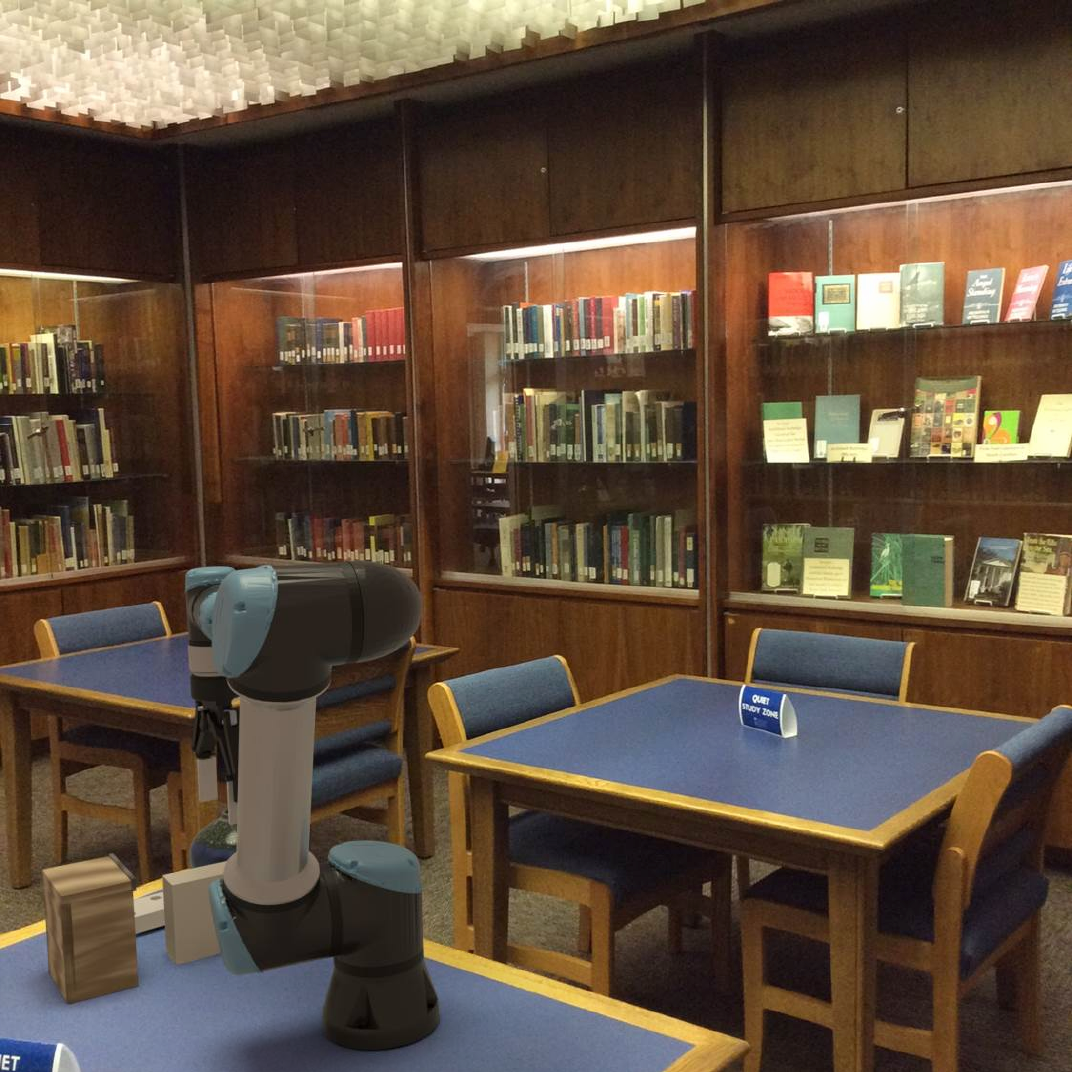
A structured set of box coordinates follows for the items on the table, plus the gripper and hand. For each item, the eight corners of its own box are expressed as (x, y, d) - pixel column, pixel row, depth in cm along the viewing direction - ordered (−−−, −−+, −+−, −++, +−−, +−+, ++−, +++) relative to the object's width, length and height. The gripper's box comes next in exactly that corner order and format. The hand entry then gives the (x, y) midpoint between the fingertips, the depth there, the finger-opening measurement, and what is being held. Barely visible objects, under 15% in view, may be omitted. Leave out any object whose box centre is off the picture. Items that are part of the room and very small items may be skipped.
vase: (257, 864, 221) (253, 791, 220) (300, 887, 209) (296, 810, 208) (175, 886, 211) (171, 810, 210) (215, 912, 199) (211, 832, 198)
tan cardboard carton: (242, 948, 185) (239, 870, 184) (176, 965, 180) (172, 885, 179) (231, 936, 190) (227, 860, 188) (166, 953, 184) (161, 875, 183)
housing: (142, 985, 174) (135, 878, 172) (68, 1004, 168) (61, 894, 167) (118, 954, 184) (112, 853, 183) (48, 971, 179) (41, 867, 177)
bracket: (104, 949, 187) (101, 900, 186) (86, 935, 192) (83, 888, 191) (185, 924, 195) (182, 878, 194) (166, 912, 201) (163, 867, 200)
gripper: (270, 681, 175) (277, 827, 176) (213, 656, 196) (220, 787, 197) (218, 688, 171) (226, 838, 172) (166, 662, 191) (173, 795, 193)
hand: (223, 811), depth 185 cm, fingers open, 13 cm apart
